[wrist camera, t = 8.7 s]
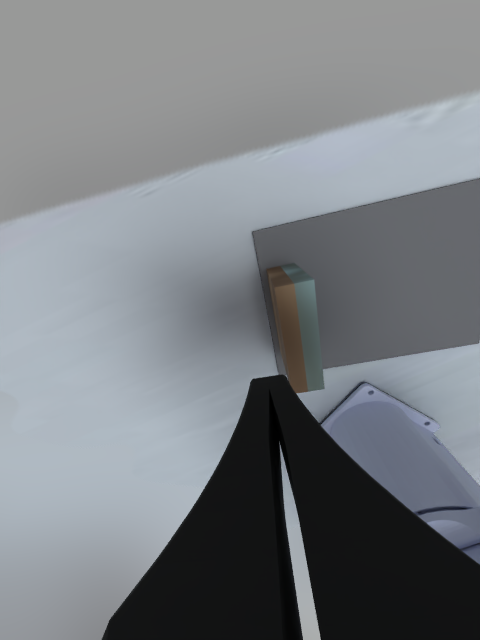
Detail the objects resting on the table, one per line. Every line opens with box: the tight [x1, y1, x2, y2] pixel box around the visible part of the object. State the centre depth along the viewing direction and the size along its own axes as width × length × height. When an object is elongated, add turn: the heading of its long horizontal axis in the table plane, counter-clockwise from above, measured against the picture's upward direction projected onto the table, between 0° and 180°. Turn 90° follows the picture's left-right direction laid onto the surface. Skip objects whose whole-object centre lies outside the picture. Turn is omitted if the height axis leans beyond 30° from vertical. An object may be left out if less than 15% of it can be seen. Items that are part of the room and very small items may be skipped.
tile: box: [266, 263, 324, 393], centre depth 15 cm, size 2×7×5 cm, turn 13°
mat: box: [253, 179, 480, 375], centre depth 17 cm, size 16×12×1 cm
